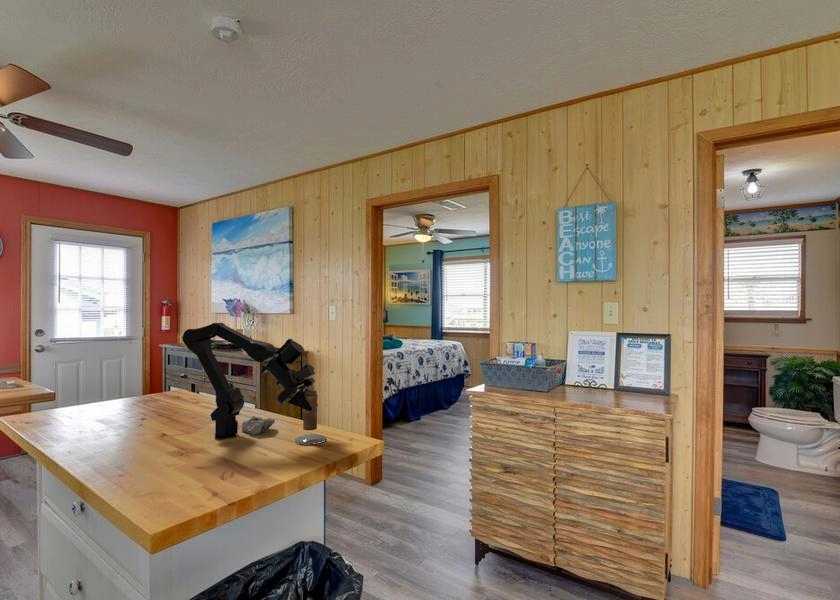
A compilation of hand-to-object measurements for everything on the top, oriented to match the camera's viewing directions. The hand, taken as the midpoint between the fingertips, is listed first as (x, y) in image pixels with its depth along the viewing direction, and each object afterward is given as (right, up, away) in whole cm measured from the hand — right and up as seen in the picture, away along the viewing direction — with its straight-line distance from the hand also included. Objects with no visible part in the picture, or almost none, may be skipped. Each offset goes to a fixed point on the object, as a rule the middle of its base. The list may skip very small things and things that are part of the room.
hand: (314, 408), depth 146 cm
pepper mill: (-1, -7, 0) cm, 7 cm away
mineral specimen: (-23, -11, +11) cm, 28 cm away
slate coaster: (-1, -10, 0) cm, 11 cm away
